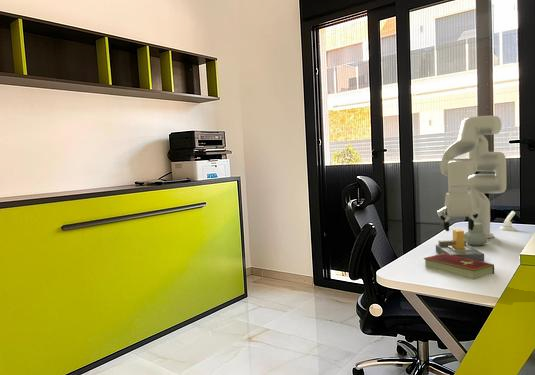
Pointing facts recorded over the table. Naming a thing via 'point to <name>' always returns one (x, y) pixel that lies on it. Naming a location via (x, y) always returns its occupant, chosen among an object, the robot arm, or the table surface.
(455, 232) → the brass peg in socket
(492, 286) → the table surface
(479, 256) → the grey box with slot
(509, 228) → the hook
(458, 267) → the hardcover book
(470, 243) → the air freshener
